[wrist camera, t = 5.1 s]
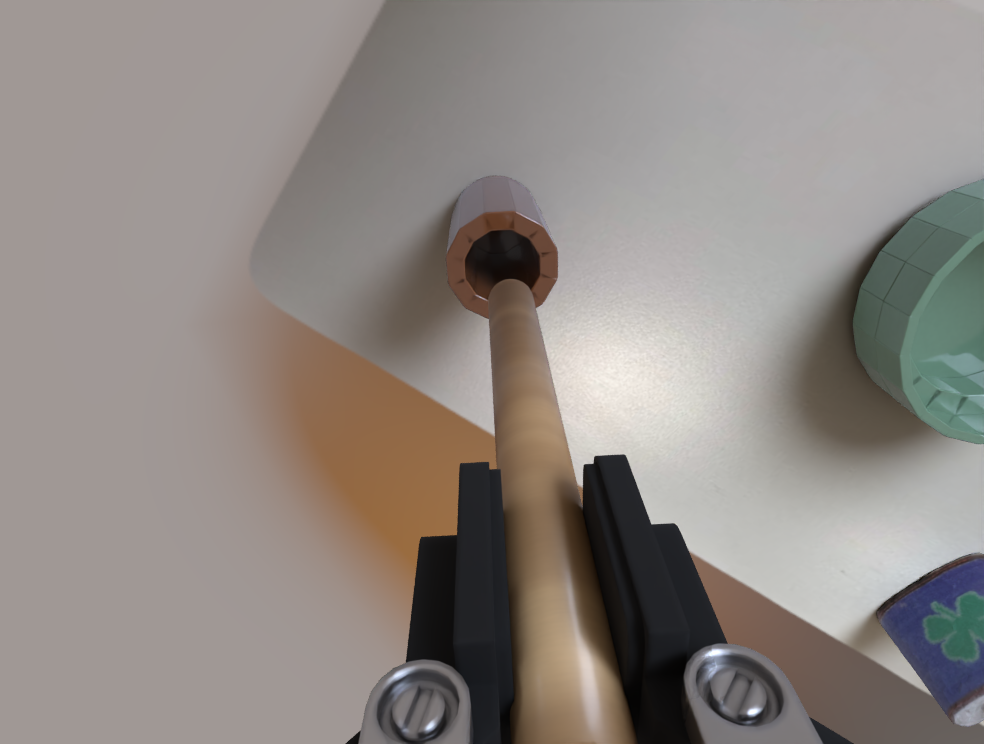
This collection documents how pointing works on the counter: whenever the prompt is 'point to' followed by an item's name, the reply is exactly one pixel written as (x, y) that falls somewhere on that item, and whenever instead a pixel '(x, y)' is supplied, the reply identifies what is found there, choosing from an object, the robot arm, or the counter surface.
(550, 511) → the cooking stick
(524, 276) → the crock
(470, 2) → the counter surface
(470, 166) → the counter surface
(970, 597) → the flask
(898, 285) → the bowl
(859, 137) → the counter surface
